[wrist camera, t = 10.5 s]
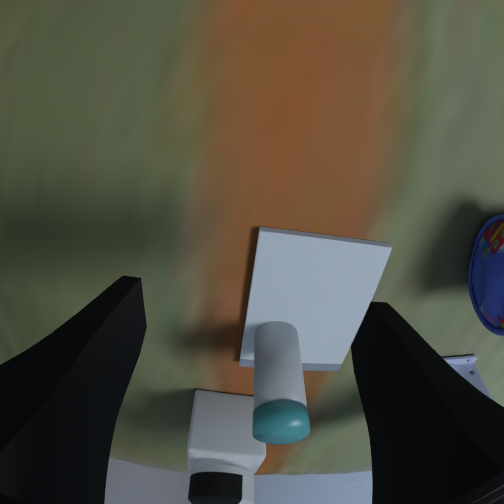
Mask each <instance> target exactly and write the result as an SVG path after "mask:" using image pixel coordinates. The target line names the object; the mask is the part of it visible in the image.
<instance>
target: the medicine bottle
mask: <svg viewBox="0 0 504 504" xmlns="http://www.w3.org/2000/svg"><path fill="white" fill-rule="evenodd" d="M253 409H254V396H247V395H237V394H229V393H221V392H213V391H206V390H199V389H198V390H196V392H195V396H194V402H193V409H192V415H191V422H190V429H189V436H188V443H187V469H188V470H189V471H191V477H190V486H189V495H188V500H189V501H190V502H191V503H192V504H254V474H255V473H256V471H257V470H258V468H259V467H260V465H261V464H262V462H263V460H264V459H265V457H266V443H263V442H260V441H258V440H256V439H255V438H254V437H253V435H252V424H253Z"/></svg>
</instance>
